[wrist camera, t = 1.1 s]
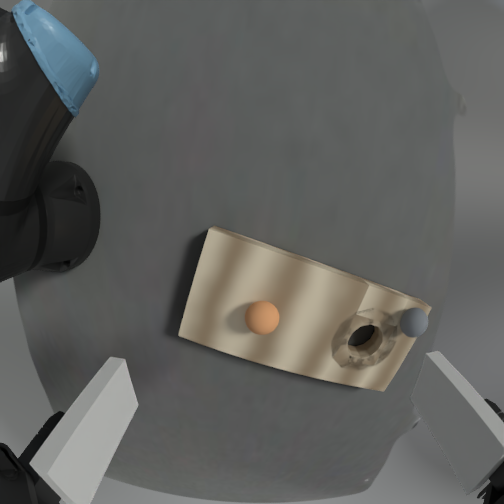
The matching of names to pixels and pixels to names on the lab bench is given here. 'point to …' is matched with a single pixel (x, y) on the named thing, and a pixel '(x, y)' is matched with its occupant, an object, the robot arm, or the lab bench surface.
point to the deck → (296, 312)
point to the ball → (262, 317)
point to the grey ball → (414, 322)
